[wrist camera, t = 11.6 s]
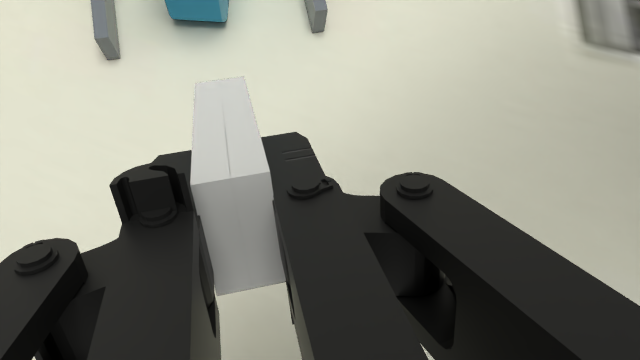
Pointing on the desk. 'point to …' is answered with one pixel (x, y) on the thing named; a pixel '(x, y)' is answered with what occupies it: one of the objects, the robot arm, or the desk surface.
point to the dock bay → (109, 37)
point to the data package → (198, 10)
